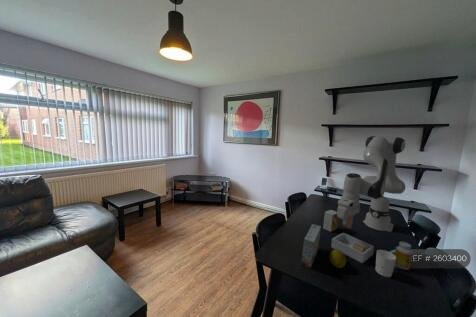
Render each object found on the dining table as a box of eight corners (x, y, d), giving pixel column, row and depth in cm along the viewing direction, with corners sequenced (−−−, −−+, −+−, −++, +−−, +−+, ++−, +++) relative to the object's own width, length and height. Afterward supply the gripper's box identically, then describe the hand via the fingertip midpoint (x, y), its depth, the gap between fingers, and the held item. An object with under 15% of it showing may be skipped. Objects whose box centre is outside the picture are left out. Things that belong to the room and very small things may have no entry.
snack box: (311, 269, 98) (314, 242, 96) (300, 265, 101) (303, 238, 99) (319, 249, 116) (321, 225, 114) (309, 245, 119) (311, 223, 117)
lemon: (344, 274, 96) (346, 259, 95) (327, 268, 100) (329, 253, 99) (345, 262, 105) (347, 248, 104) (330, 257, 109) (331, 243, 108)
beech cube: (356, 250, 116) (357, 242, 115) (365, 254, 111) (366, 246, 111) (352, 252, 113) (353, 244, 112) (361, 257, 109) (362, 249, 108)
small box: (330, 232, 137) (332, 214, 135) (322, 228, 142) (324, 211, 140) (337, 229, 141) (339, 212, 140) (329, 225, 147) (330, 209, 145)
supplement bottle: (405, 271, 99) (409, 248, 98) (390, 263, 105) (394, 241, 104) (412, 268, 102) (416, 246, 100) (397, 260, 108) (401, 239, 106)
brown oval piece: (344, 223, 120) (346, 212, 119) (353, 226, 116) (354, 215, 115) (340, 225, 117) (342, 214, 116) (349, 228, 113) (350, 217, 112)
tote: (331, 247, 119) (332, 238, 118) (342, 240, 126) (343, 232, 126) (362, 263, 104) (363, 254, 104) (372, 255, 112) (373, 246, 111)
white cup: (370, 267, 102) (372, 249, 100) (384, 266, 102) (386, 249, 101) (382, 278, 94) (385, 259, 93) (397, 278, 95) (400, 259, 93)
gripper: (353, 196, 123) (350, 216, 125) (336, 201, 111) (333, 224, 113) (363, 199, 118) (361, 220, 120) (347, 205, 106) (344, 228, 108)
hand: (347, 222), depth 116 cm, fingers closed on brown oval piece, 5 cm apart
